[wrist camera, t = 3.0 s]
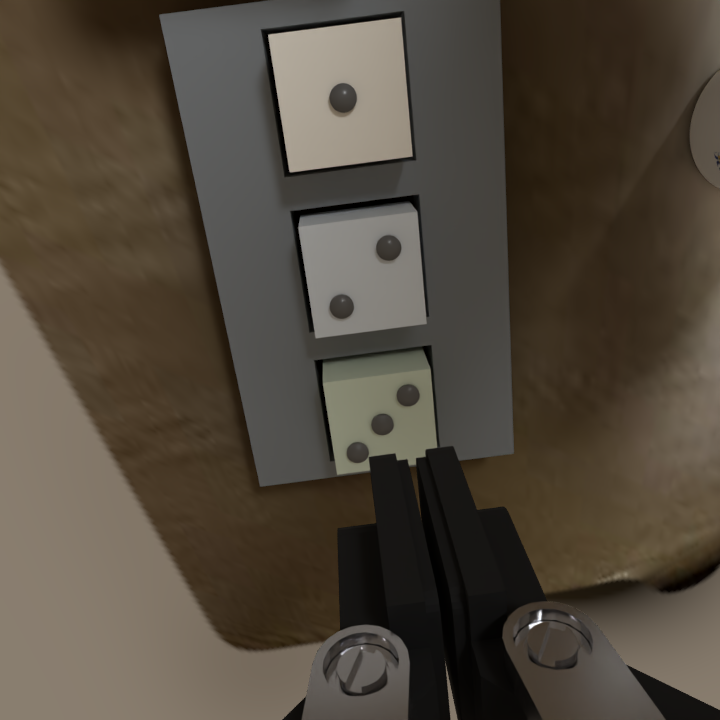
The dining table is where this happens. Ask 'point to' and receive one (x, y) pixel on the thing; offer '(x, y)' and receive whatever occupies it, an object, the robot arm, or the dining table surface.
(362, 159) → the tile one
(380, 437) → the tile three
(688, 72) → the dining table surface
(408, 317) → the tile two
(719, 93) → the bath foam
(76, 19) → the dining table surface
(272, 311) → the board
